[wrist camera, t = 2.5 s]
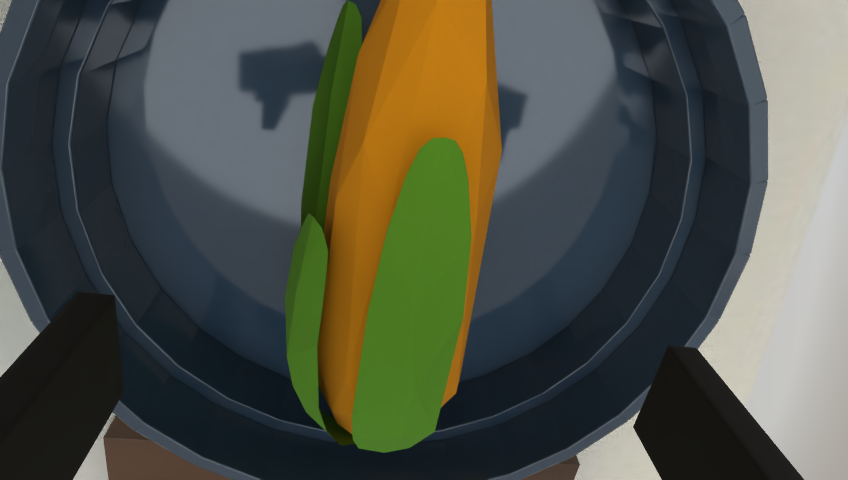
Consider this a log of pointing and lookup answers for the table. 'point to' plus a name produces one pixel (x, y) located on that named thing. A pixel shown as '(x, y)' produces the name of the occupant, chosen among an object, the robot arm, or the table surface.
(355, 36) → the corn
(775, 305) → the table surface
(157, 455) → the walnut board
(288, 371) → the bowl
